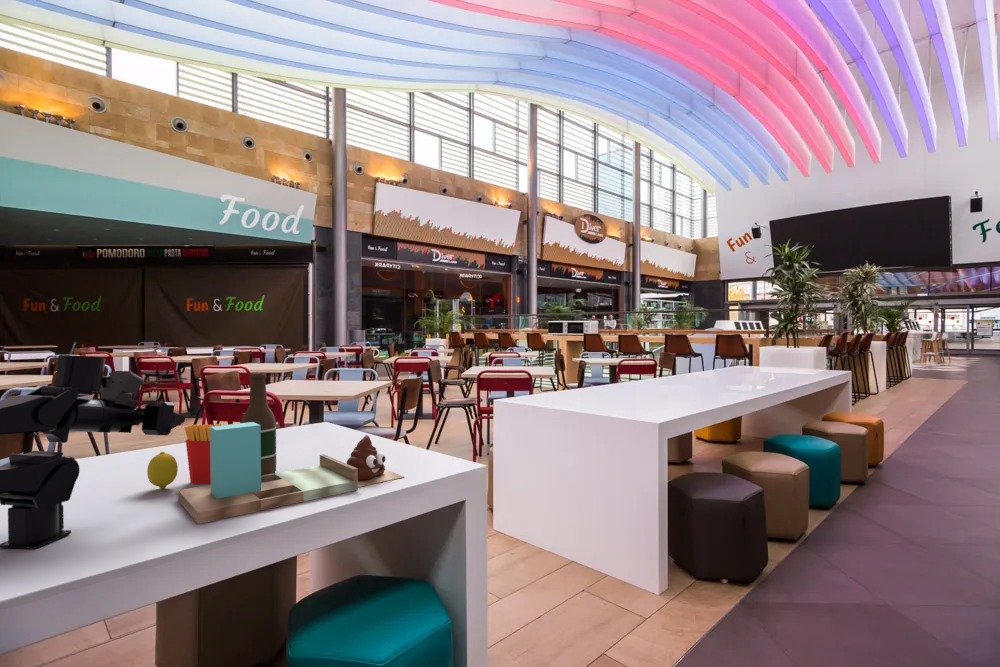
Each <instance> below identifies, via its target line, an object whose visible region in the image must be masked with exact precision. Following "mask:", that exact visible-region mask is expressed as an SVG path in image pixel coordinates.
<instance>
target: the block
mask: <svg viewBox="0 0 1000 667" xmlns="http://www.w3.org/2000/svg"><path fill="white" fill-rule="evenodd" d="M221 425H222V424H221ZM210 471H211V484H210V485H211V494H213V495H214V496H215V497H216V498H217V499H218V498H223V497H228V496H234V495H239V494H244V493H249V492H255V491H260V490H261V427H260V425H259V424H257V423H254V422H249V423H241V422H240V423H231V424H223V425H222V426H213V427H210Z"/></svg>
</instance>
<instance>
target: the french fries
mask: <svg viewBox="0 0 1000 667" xmlns="http://www.w3.org/2000/svg"><path fill="white" fill-rule="evenodd" d="M213 426H222V424H220V423H214V424H206V423H204V424H203V425H202V424H200V425H198V424H195V423H194V424H191V425H188V426H184V431H185V434H186V438H187V439H186V440H185V448H186V453H187V462H188V471H189V480H190V484H192V485H211V471H210V427H213Z"/></svg>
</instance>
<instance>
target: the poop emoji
mask: <svg viewBox="0 0 1000 667" xmlns="http://www.w3.org/2000/svg"><path fill="white" fill-rule="evenodd" d="M385 461H386V454H384V453H383V452H378V450H377V447H375V445H373V444H372V440H371V438H370V436H369V435H368V434H366V435H364V437H362V438H361V439H360V440H359V441H358V443H357V444H356V446H355V447H354V449H353V450H352V451H351V452H350V457H349V458H348V459H347V461H346V464H348V465H350V466H353V467H355V468H358V481H365V480H369V479H371V478H373V477H375V476H376V475H377V476H379V475H382V474H383V473H384V471H385V469H386V467H385V464H384V463H385Z"/></svg>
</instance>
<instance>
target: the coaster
mask: <svg viewBox="0 0 1000 667" xmlns="http://www.w3.org/2000/svg"><path fill="white" fill-rule="evenodd" d="M403 478H405V476H404V475H401V474H399V473H396V472H393V471H391V470H389V469H386V468H385V471H384V473H383V474H382V475H379V476H377V475H376V476H375V477H373V478H371V479H369V480H365V481H358V488H361V487H366V486H370V485H374V484H379V483H384V482H389V481H393V480H394V481H395V480H399V479H403Z"/></svg>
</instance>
